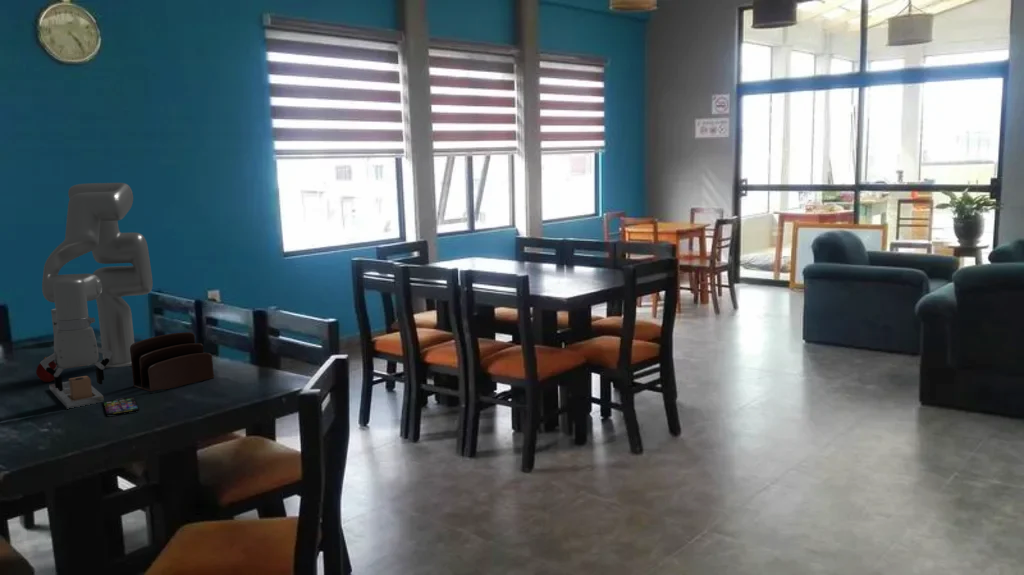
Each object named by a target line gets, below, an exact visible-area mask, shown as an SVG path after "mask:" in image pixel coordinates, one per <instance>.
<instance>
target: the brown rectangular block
mask: <svg viewBox="0 0 1024 575" xmlns="http://www.w3.org/2000/svg"><path fill="white" fill-rule="evenodd" d="M68 381H69V385H70V394H71V400H76V399H81V398H87V397H92V388H91V385H92V380H91V378H90V377H89V376H88V375H83V376H77V377H70V378H68Z"/></svg>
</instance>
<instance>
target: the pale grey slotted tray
mask: <svg viewBox="0 0 1024 575" xmlns="http://www.w3.org/2000/svg"><path fill="white" fill-rule="evenodd" d="M62 386H63V390H62V391H59V390H58V388H55V383H52V384H49V390H50V391H51V393H52V394H53V395H54V396H55V397H56V398H57V399H58V400H59V401H60V402H61V403H62V404H63V406H64V407H65V409H66V410H67V409H69V408H74V407H80V406H85V405H90V404H96V403H102V402H104V401H105V399H104V395H103V394H102V393H101V392H100V391H99V390H97V388H95V387H94V386H93V385H92V384H91V388H92V397H87V398H81V399H76V400H71V394H70V385H69V380H68V381H62ZM102 404H103V403H102ZM96 405H97V404H96ZM80 408H81V407H80Z"/></svg>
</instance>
